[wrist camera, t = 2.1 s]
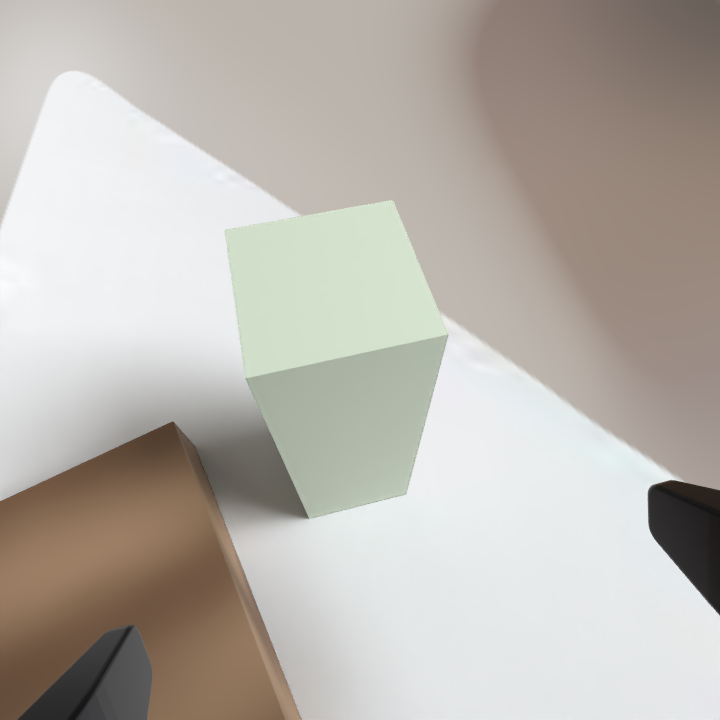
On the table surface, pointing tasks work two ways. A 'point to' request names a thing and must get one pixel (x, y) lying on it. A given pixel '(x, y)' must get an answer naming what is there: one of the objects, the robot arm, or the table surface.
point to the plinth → (134, 585)
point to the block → (338, 349)
